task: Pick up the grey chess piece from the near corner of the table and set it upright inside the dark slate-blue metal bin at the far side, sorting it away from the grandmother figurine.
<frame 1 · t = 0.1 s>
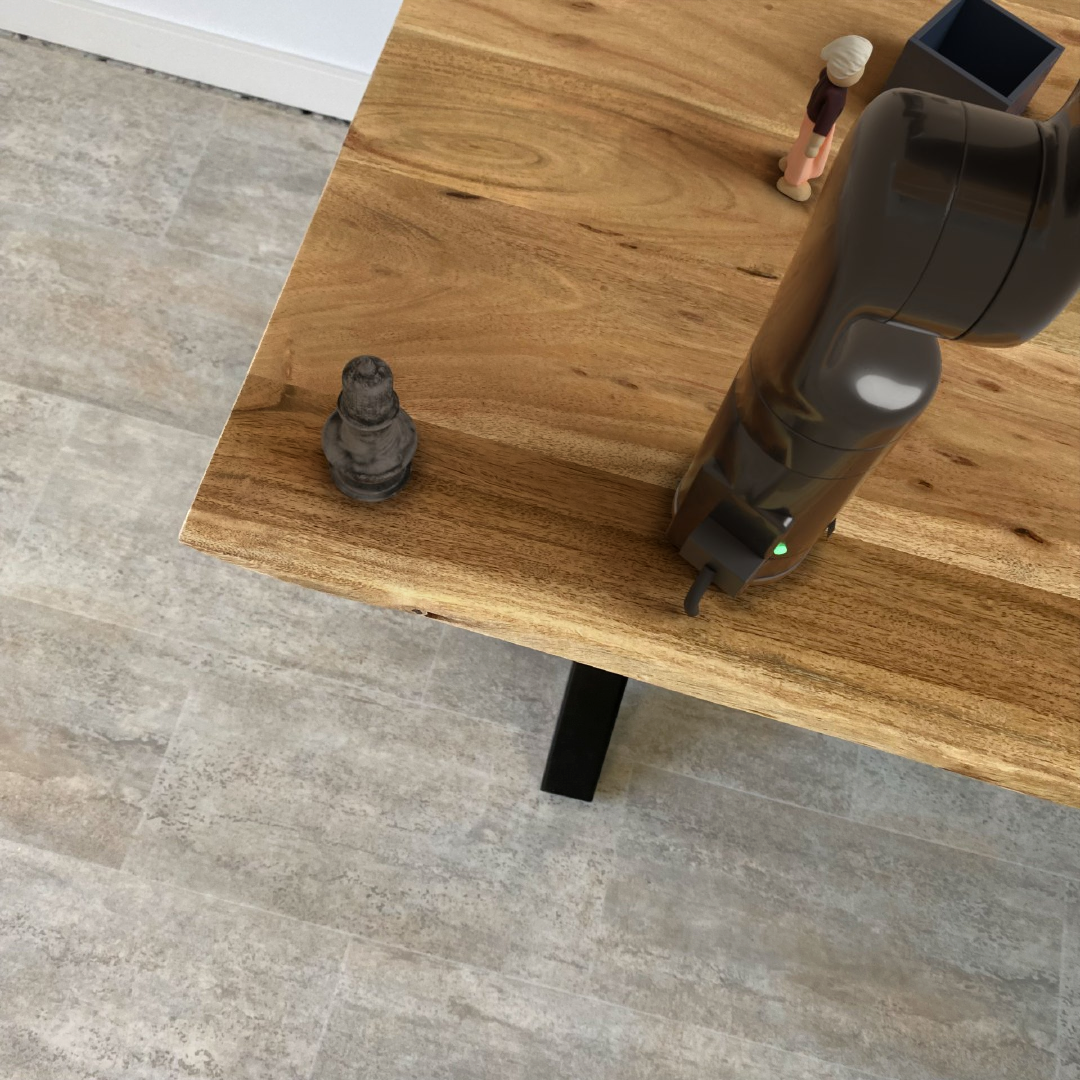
bin: (949, 109, 91), on the table
grey chess piece: (370, 467, 70), on the table
grandmother figurine: (794, 175, 85), on the table
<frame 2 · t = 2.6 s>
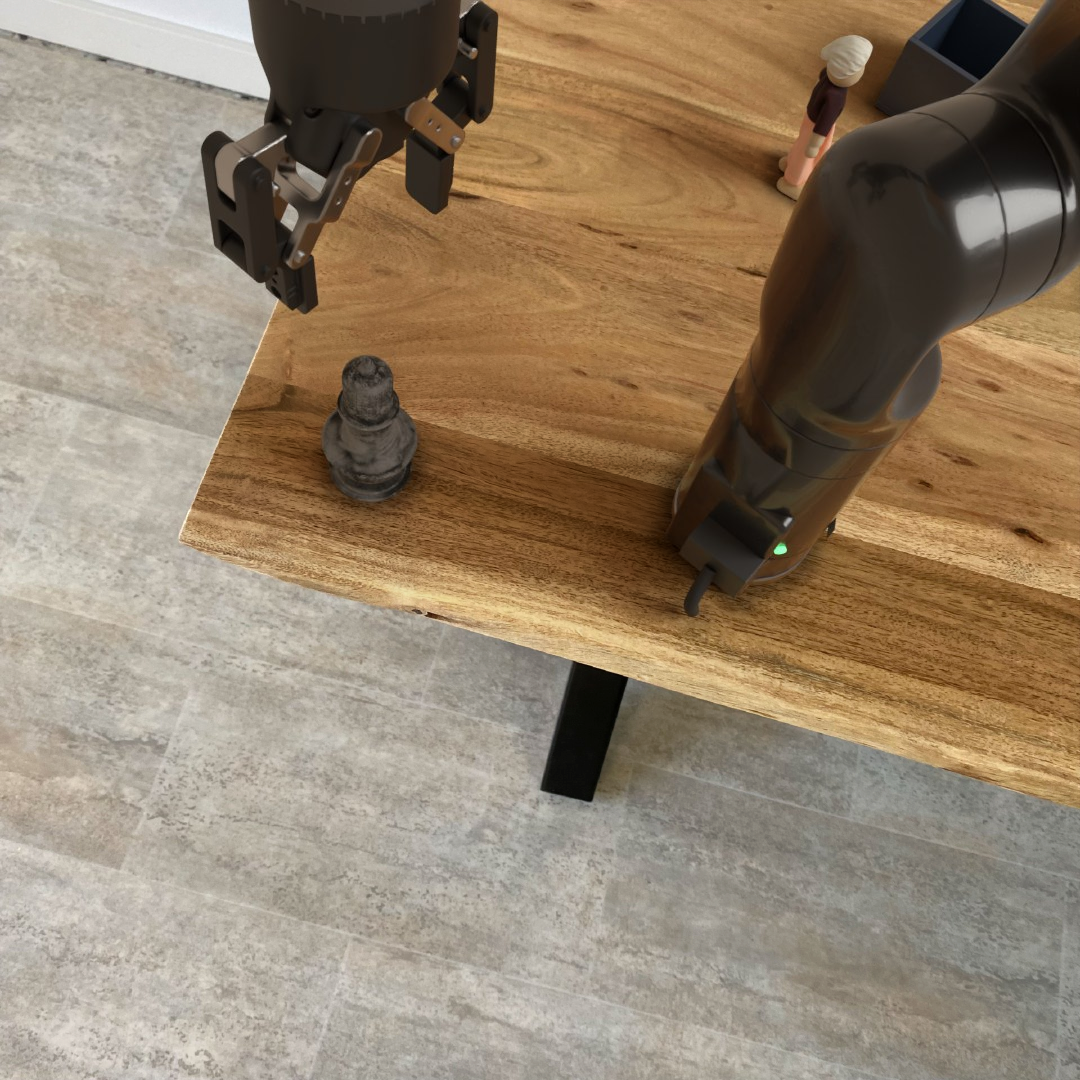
hand: (363, 248, 51), 21 cm above the table, tool pointing down, fingers open, 8 cm apart
nothing on the table moved.
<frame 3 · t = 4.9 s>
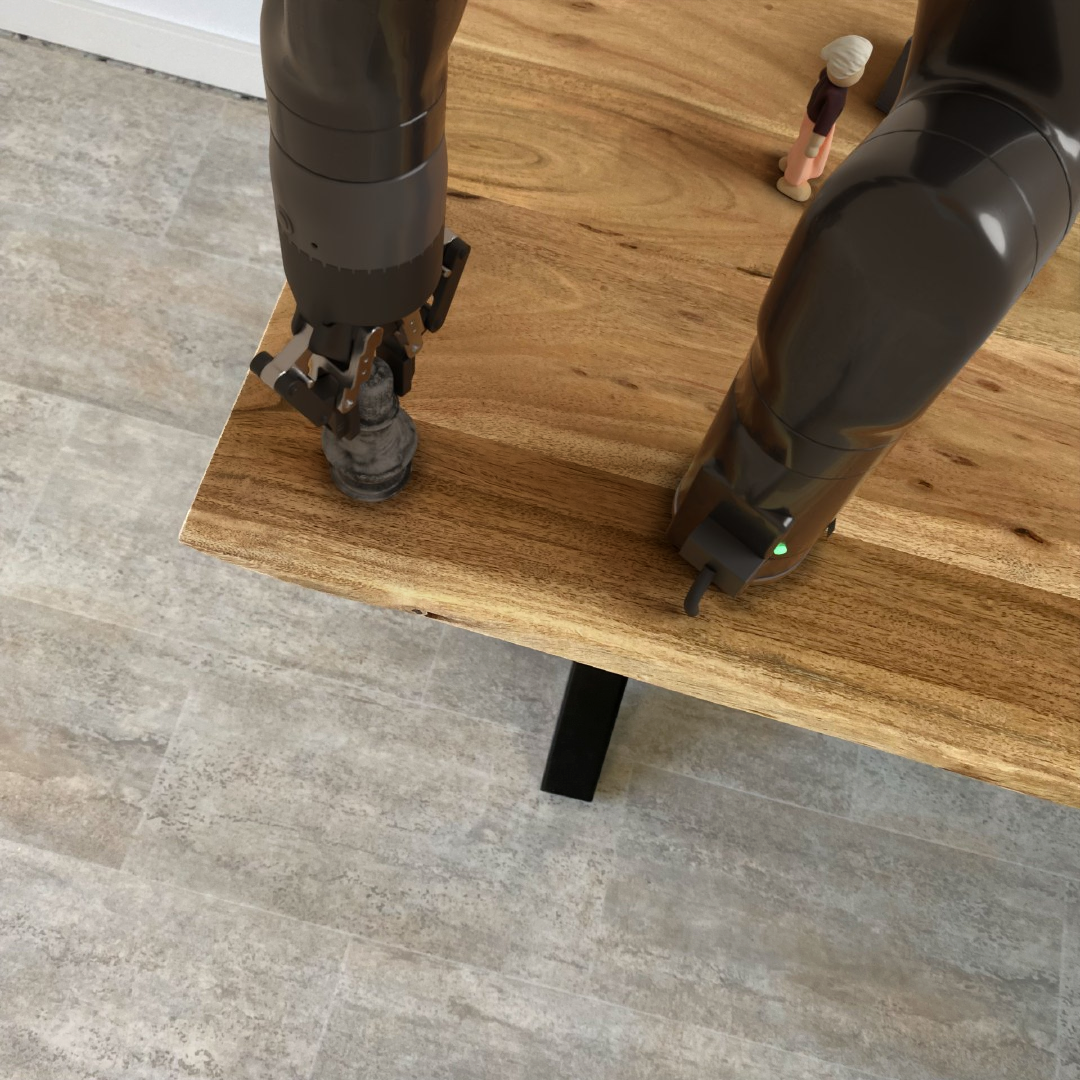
hand: (368, 405, 63), 7 cm above the table, tool pointing down, fingers closed on grey chess piece, 3 cm apart
grey chess piece: (371, 467, 70), on the table, touching gripper
everything else where it was.
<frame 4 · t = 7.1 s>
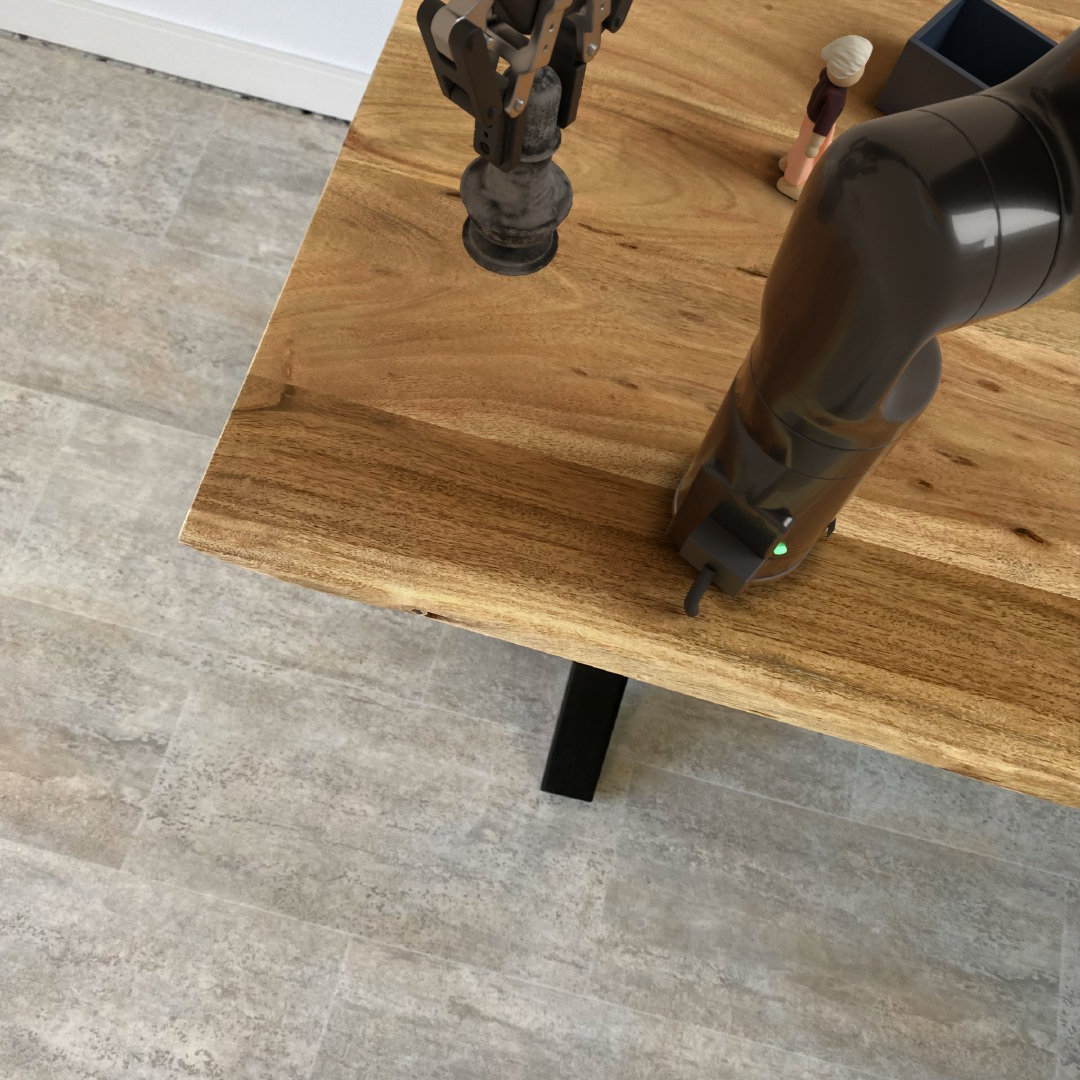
hand: (526, 136, 52), 23 cm above the table, tool pointing down, fingers closed on grey chess piece, 3 cm apart
grey chess piece: (510, 240, 59), point 16 cm above the table, touching gripper
everything else where it was.
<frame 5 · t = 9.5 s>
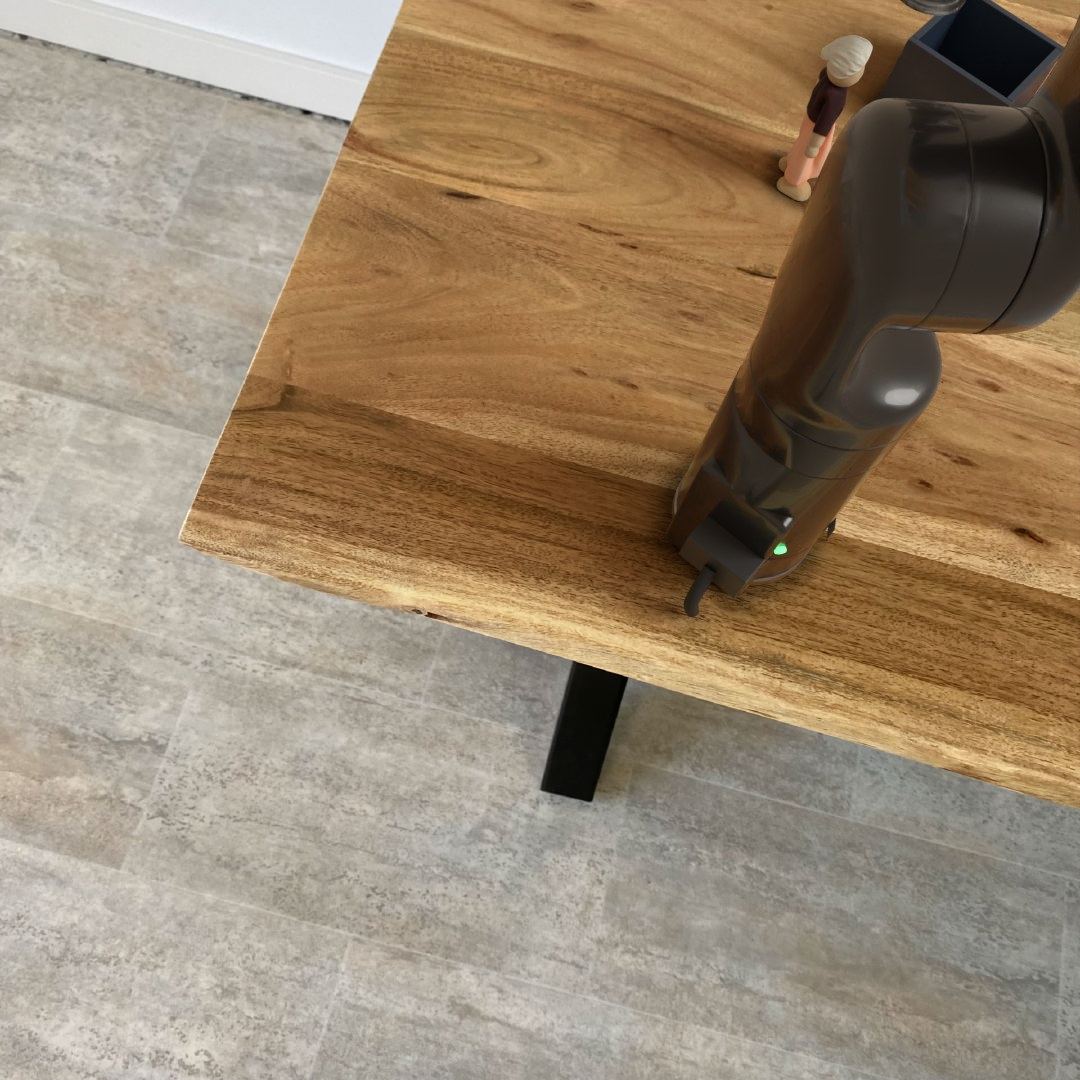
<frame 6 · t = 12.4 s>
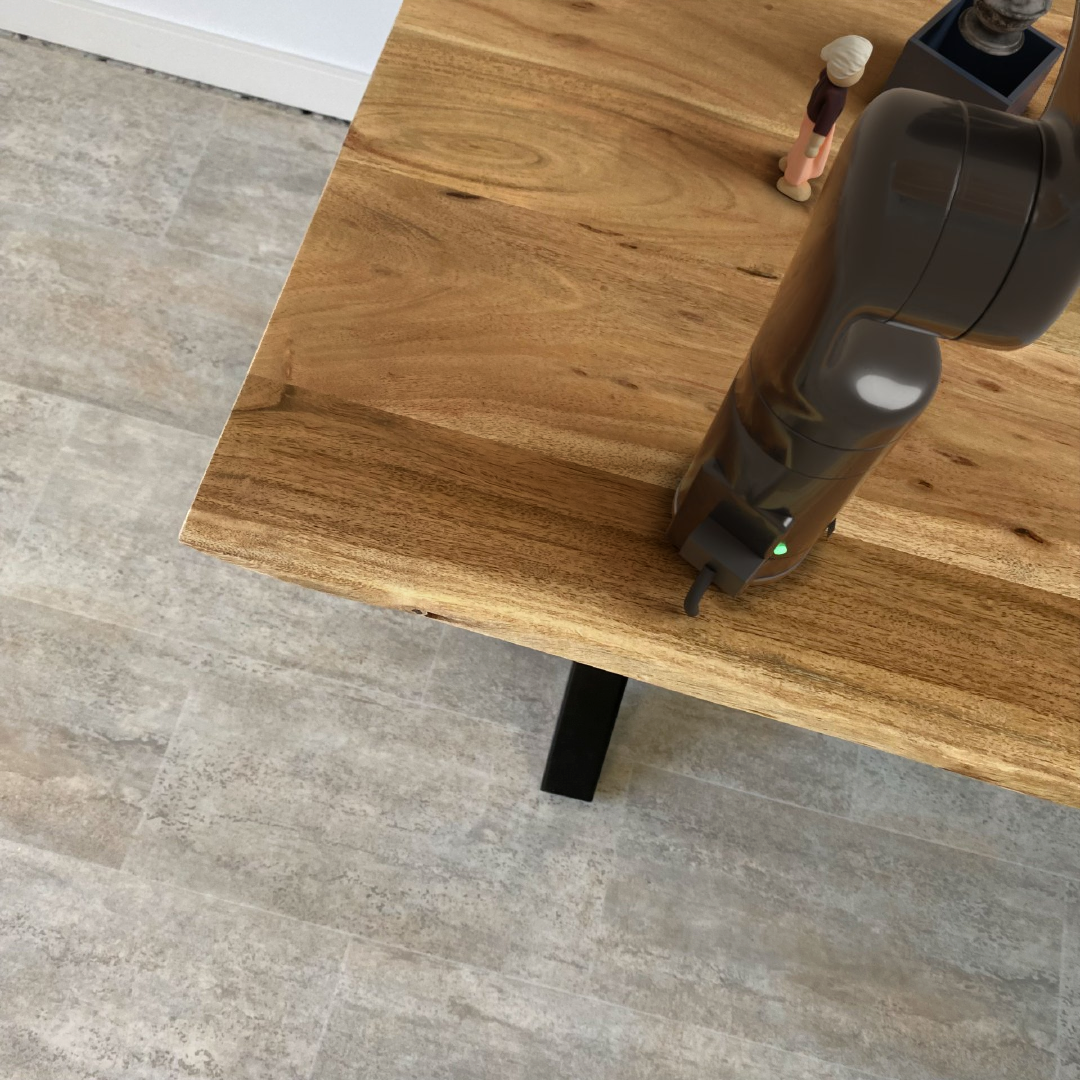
grey chess piece: (989, 33, 84), point 7 cm above the table, touching gripper
everything else where it was.
when the fingers open (8 cm above the table, at t = 14.4 s): grey chess piece stays where it is, resting on bin.
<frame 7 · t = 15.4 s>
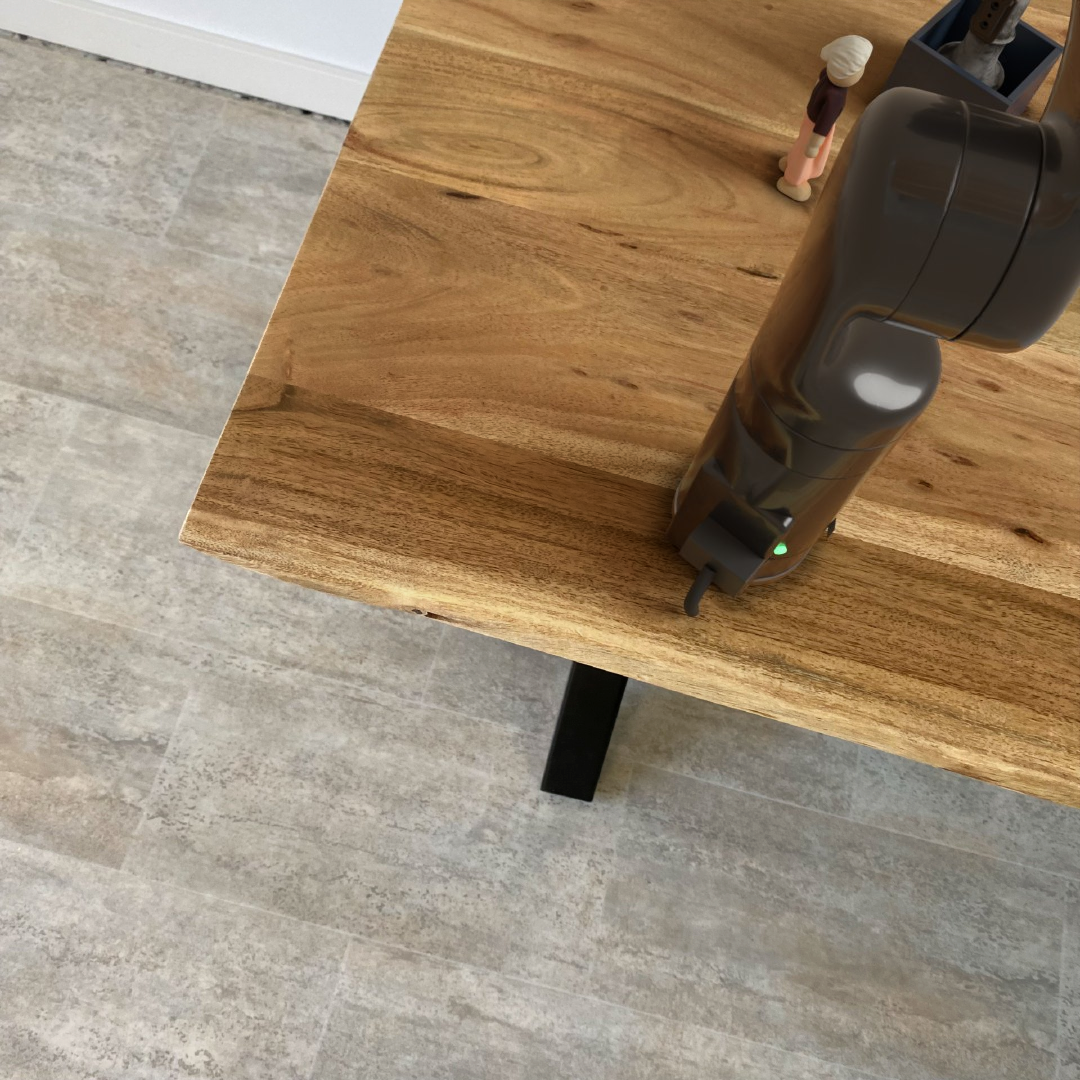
hand: (1008, 9, 82), 10 cm above the table, tool pointing down, fingers open, 8 cm apart
grey chess piece: (947, 104, 90), resting on bin
everything else where it was.
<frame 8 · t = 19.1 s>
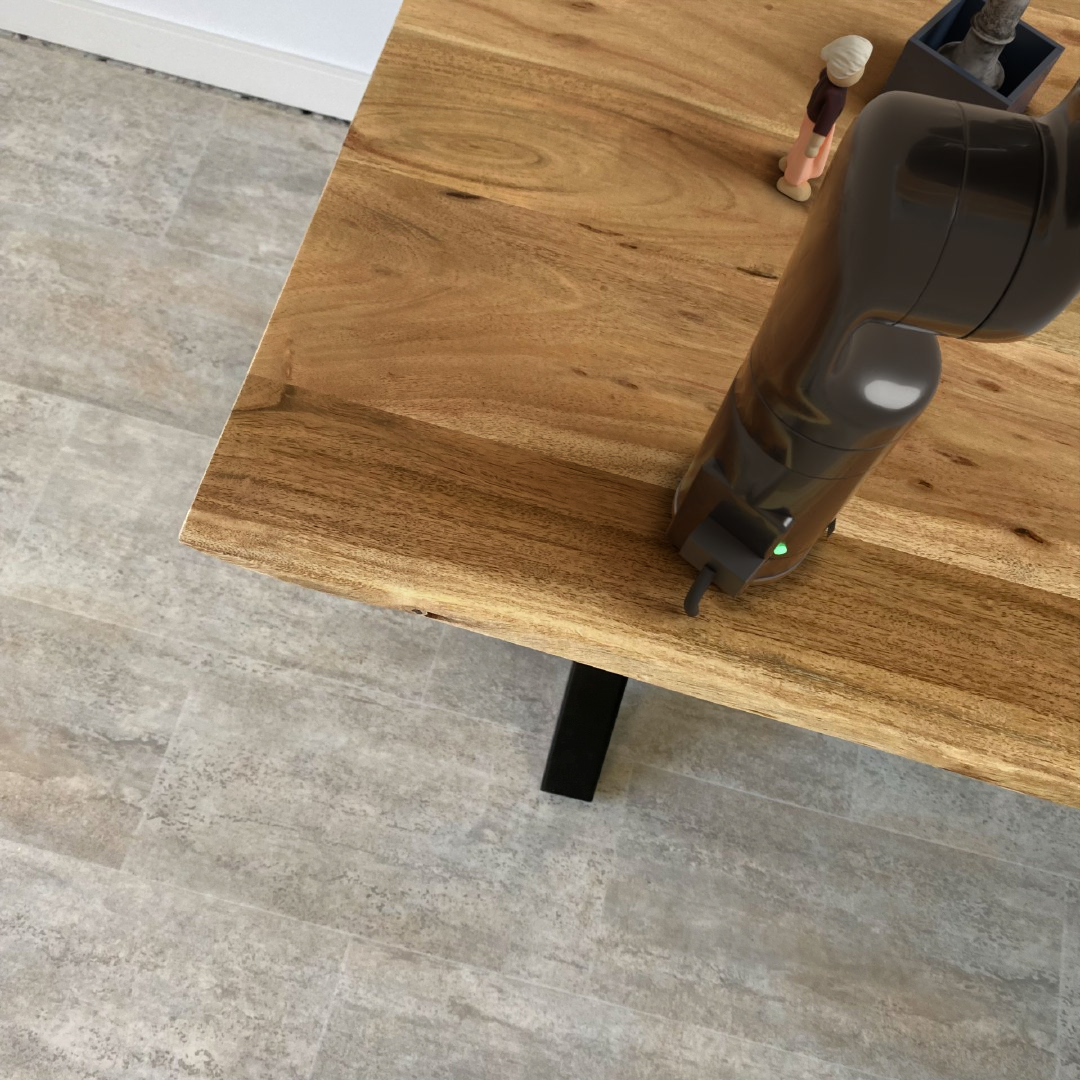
nothing on the table moved.
at the end: grey chess piece 0.3 cm off-centre in the bin, point 0.4 cm above the bin's base; grey chess piece tilted 0° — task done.
